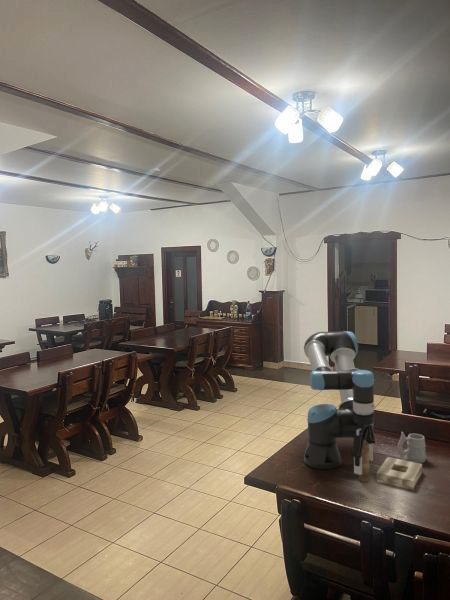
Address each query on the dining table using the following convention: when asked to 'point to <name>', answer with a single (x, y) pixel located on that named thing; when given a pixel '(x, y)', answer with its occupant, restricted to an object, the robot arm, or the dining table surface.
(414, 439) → the mug
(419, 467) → the wooden block with hole
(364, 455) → the leg
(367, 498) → the dining table surface
